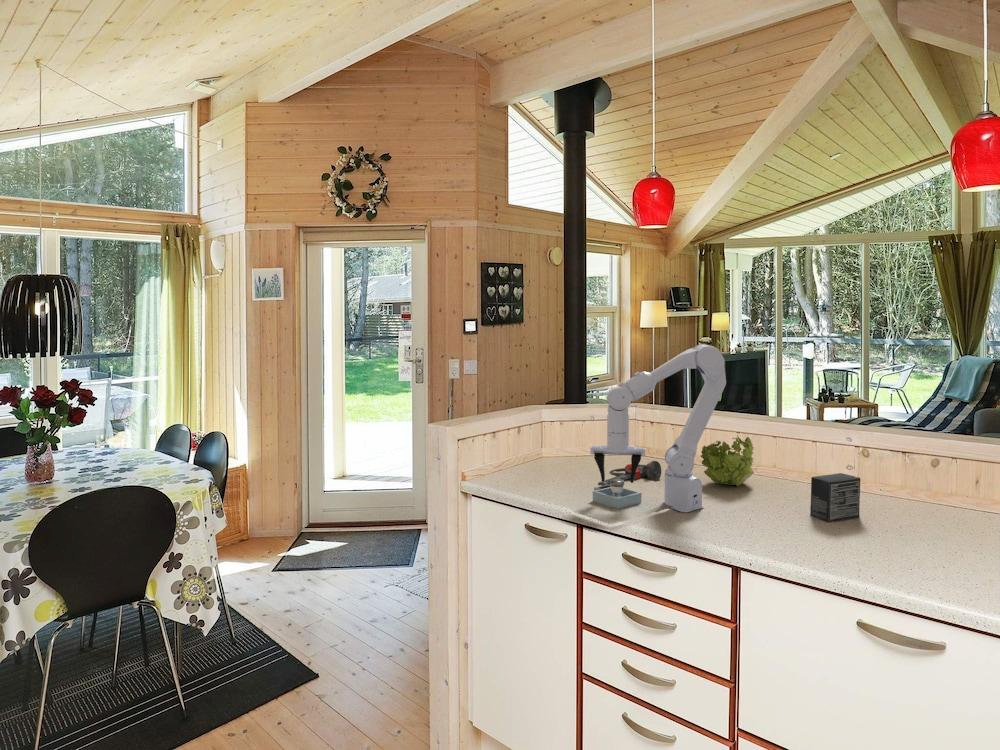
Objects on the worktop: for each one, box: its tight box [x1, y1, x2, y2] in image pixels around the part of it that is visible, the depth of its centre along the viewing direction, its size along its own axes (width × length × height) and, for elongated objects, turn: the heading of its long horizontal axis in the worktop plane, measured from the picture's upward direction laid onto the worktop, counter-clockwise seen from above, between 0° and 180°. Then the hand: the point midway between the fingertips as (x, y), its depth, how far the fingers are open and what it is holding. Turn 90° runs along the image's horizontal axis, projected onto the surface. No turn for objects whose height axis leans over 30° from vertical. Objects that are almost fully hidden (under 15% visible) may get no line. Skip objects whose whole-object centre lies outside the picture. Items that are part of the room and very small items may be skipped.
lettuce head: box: [700, 435, 755, 488], centre depth 205 cm, size 18×16×16 cm
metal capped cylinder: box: [610, 479, 625, 498], centre depth 184 cm, size 4×4×6 cm
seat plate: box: [593, 485, 611, 491], centre depth 194 cm, size 6×6×2 cm
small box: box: [809, 472, 861, 523], centre depth 173 cm, size 11×6×10 cm, turn 111°
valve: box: [597, 460, 662, 486], centre depth 211 cm, size 6×26×15 cm
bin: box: [592, 487, 642, 510], centre depth 184 cm, size 9×9×4 cm
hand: (617, 481), depth 184 cm, fingers open, 7 cm apart
